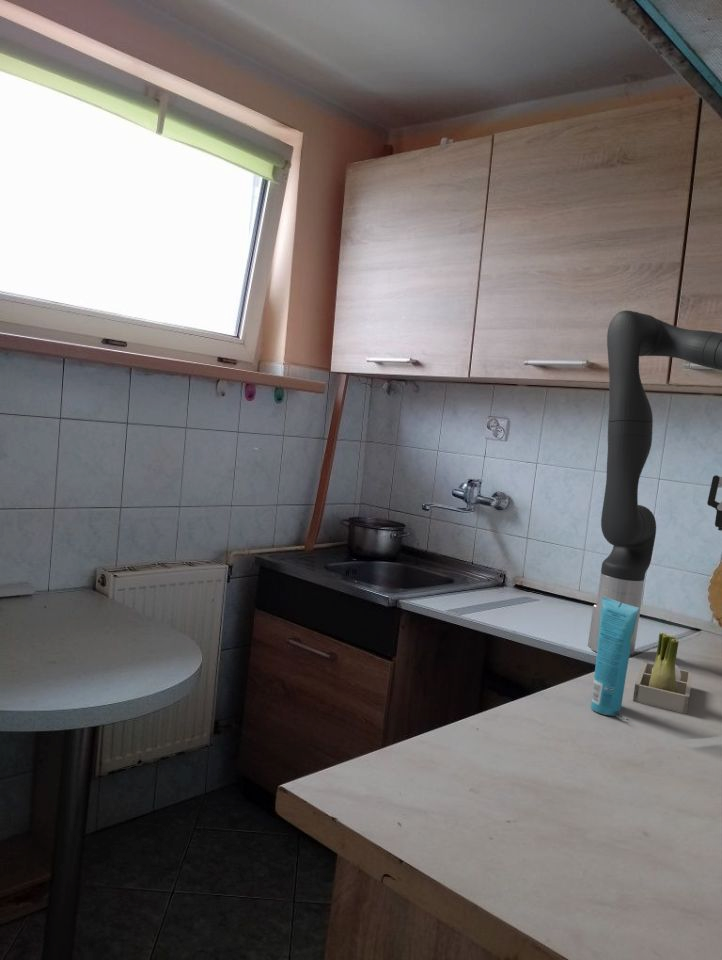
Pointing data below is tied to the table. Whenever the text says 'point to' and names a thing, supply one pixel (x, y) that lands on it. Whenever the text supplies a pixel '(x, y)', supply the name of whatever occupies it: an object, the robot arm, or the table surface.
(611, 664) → the tube
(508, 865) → the table surface
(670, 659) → the fennel bulb
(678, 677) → the ceramic egg
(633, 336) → the robot arm
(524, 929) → the table surface
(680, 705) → the tray
